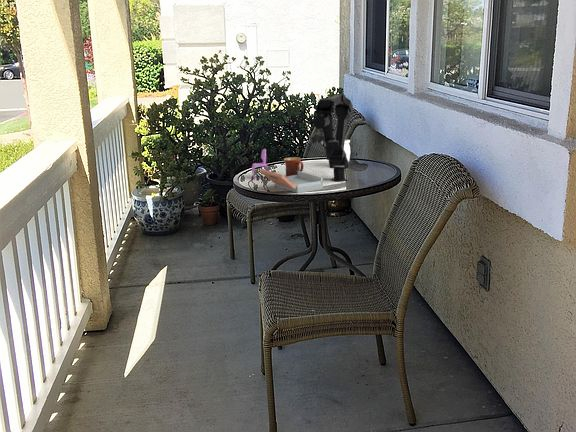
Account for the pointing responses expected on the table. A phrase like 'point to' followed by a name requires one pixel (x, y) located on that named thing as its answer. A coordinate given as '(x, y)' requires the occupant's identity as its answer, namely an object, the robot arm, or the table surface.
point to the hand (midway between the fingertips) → (328, 159)
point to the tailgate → (277, 178)
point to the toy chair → (260, 163)
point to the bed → (303, 182)
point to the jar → (347, 149)
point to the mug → (293, 166)
